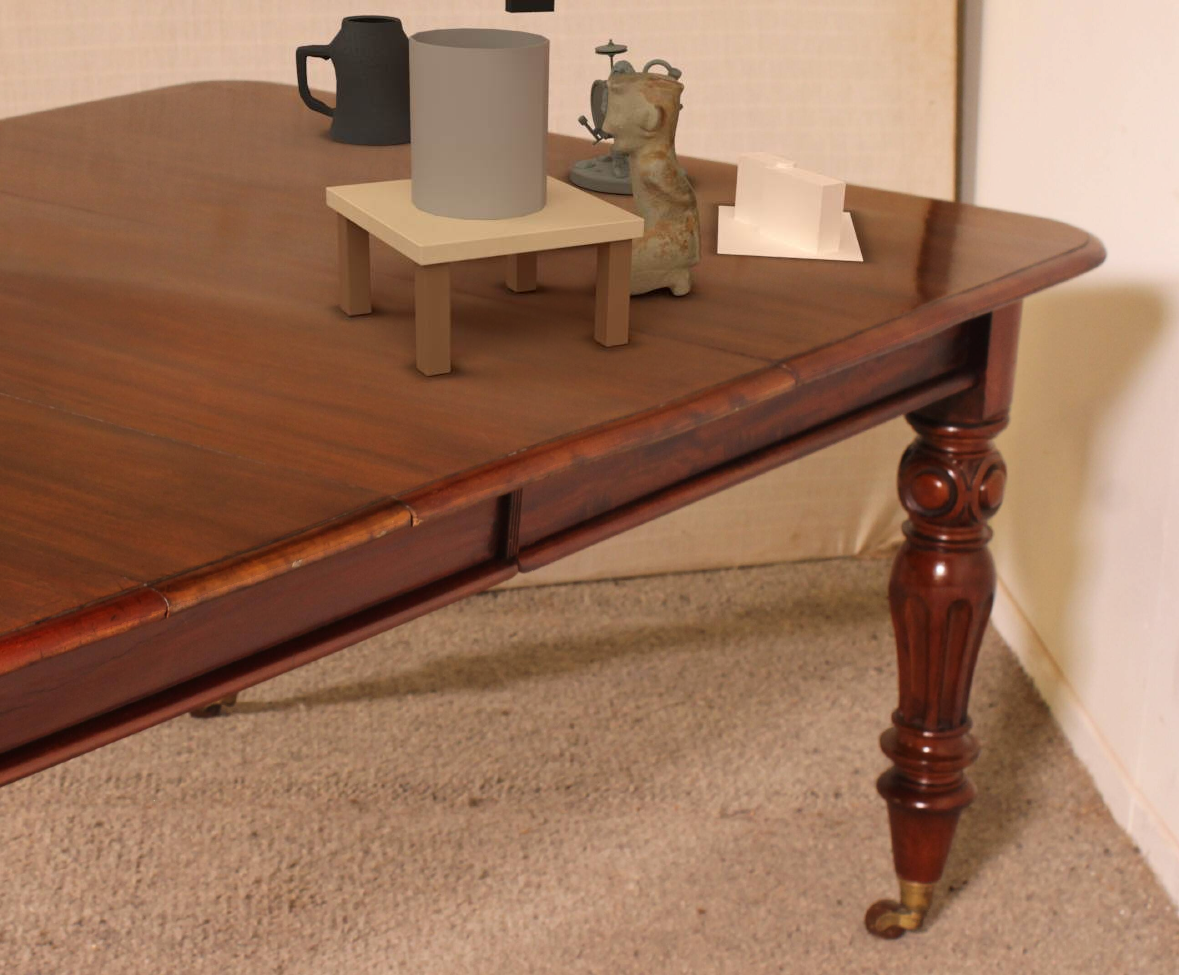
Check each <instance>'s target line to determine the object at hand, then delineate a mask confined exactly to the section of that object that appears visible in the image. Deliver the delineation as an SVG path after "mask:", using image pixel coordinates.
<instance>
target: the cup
mask: <svg viewBox="0 0 1179 975" xmlns="http://www.w3.org/2000/svg"><path fill="white" fill-rule="evenodd" d="M408 38H409V68H410V122H411V142H410V164H411V165H410V169H411V170H410V171H411V179H412V202H413V204H414V205H415V206H416V207H417V209H419V210H422V211H425V212H428V213H431V214H434V215H437V216H444V217H452V218H459V219H485V220H496V219H505V218H514V217H523V216H526V215H529V214H532V213H535V212H539V211H541V210H542V209H543V207H544V206H545V205H546V202H547V175H548V152H549V151H548V147H549V146H548V145H549V144H548V143H549V96H550V50H551V49H550V48H551V45H550V44H551V40H550V39H549V38H547V37H546V36H544V35H542V34H538V33H532V32H526V31H522V30H511V29H501V28H500V29H499V28H476V27H475V28H474V27H473V28H471V27H470V28H469V27H463V28H462V27H461V28H460V27H459V28H437V29H436V28H435V29H430V30H424V31H418V32H415V33H413V34H412V35H410V36H408Z"/></svg>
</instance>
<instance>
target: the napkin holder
mask: <svg viewBox="0 0 1179 975" xmlns="http://www.w3.org/2000/svg"><path fill="white" fill-rule="evenodd" d="M736 175H737V176H736V187H735V199H734V200H735V202H734V203H735V204H734V206H731V205H718V218H717V220H718V221H717V222H718V223H717V224H718V225H717V229H718V230H717V251H716V252H717V254H718V255H733V256H734V255H736V256H753V257H754V256H755V257H771V258H772V257H773V258H793V259H808V260H809V259H811V260H827V261H828V260H829V261H848V262H849V261H850V262H864V258H863V255H862V252H861V248H860V244H859V240H858V237H857V233H856V230H855V227H854V222H853V220H852V217H851V216H852V215H851V213H850V212H849V211H844V206H845V196H846V187H847V183H846V181H842V180H839V179H835V178H832V177H829V176H826V175H822V174H820V173H816V172H813V171H809V170H807V169H804V168H800V167H798V162H796V161H793V160H789V159H786V158H784V157H780V156H777V155H773V154H771V153H767V152H764V151H755V152H746V153H739V154H738V161H737V173H736Z"/></svg>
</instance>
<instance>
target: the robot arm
mask: <svg viewBox="0 0 1179 975" xmlns="http://www.w3.org/2000/svg"><path fill="white" fill-rule="evenodd" d="M555 1H556V0H505V1H504V5H505V6H504V11H505V12H507V13H509V14H523V13H555Z"/></svg>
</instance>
